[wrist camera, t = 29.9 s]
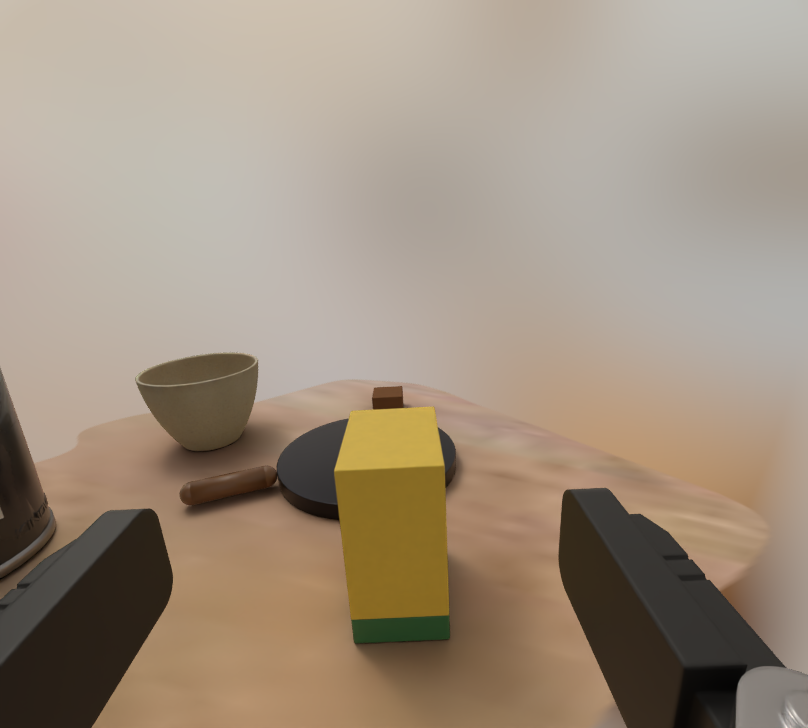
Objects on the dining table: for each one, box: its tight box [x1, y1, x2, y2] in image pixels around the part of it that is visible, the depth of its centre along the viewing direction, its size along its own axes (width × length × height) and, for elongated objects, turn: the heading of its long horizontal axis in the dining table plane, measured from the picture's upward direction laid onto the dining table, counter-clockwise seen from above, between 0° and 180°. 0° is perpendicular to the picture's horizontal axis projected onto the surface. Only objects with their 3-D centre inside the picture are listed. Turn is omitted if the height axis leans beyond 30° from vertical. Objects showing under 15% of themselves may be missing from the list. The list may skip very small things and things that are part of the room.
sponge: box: [334, 407, 450, 643], centre depth 21 cm, size 4×6×9 cm
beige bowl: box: [135, 353, 258, 451], centre depth 40 cm, size 10×10×7 cm
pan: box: [180, 419, 456, 520], centre depth 34 cm, size 21×14×2 cm
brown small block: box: [372, 386, 403, 410], centre depth 45 cm, size 3×3×2 cm
